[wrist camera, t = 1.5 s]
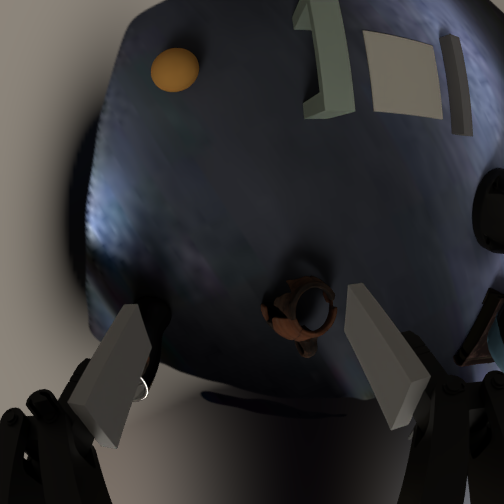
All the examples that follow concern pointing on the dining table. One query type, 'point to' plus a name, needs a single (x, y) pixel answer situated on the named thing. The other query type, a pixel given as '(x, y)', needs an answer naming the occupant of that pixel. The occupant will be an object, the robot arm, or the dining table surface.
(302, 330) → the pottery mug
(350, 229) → the dining table surface
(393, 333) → the robot arm
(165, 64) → the ball
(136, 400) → the beer glass
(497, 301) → the diary
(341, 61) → the bridge
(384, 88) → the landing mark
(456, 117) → the stopper
